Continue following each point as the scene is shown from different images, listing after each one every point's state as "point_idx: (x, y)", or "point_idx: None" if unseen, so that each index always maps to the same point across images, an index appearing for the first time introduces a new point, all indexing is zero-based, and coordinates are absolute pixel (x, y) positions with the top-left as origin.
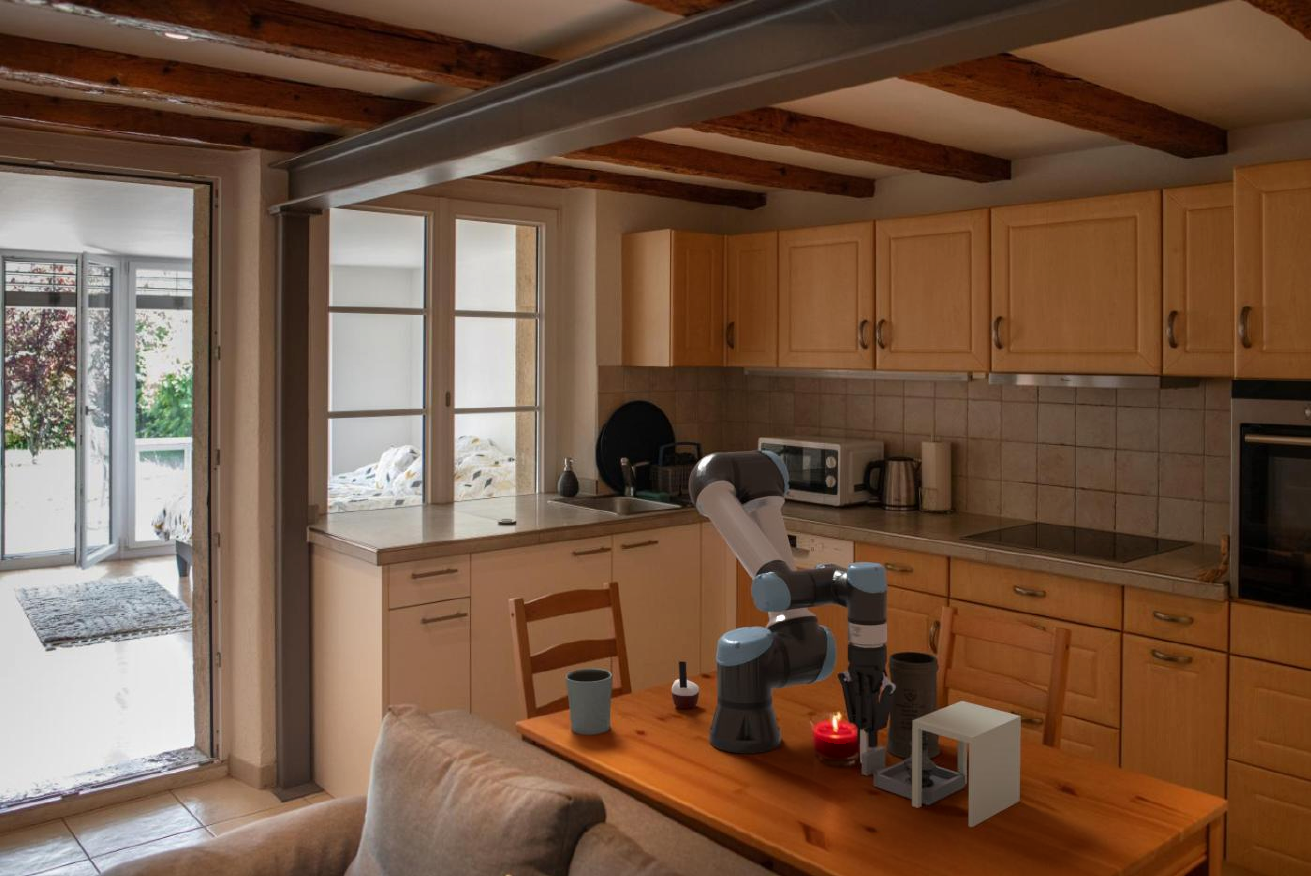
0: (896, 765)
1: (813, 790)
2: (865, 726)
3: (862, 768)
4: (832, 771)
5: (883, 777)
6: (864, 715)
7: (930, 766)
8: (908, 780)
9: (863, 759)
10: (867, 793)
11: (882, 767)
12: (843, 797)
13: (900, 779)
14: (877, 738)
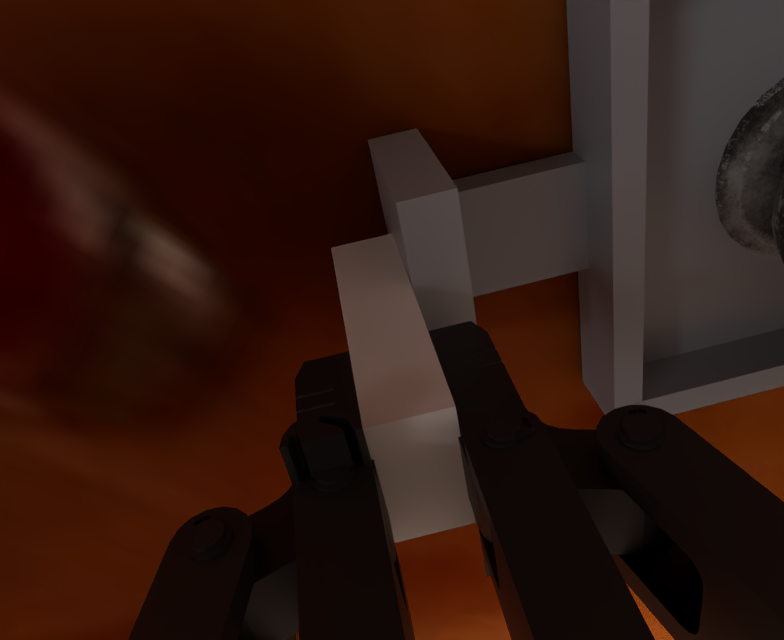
0: (634, 216)
1: (423, 611)
2: (381, 488)
3: None
4: (266, 448)
5: (689, 408)
6: (407, 626)
7: None
8: (772, 242)
9: None
10: None
11: (468, 211)
12: None
13: (692, 242)
14: (504, 366)
